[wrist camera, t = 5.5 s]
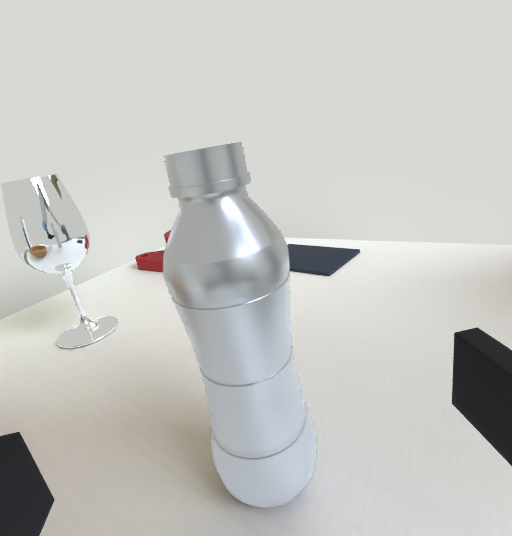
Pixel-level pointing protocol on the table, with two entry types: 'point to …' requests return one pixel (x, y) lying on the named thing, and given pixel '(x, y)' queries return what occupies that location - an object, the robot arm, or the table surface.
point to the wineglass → (53, 243)
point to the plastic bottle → (239, 326)
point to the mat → (318, 258)
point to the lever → (152, 259)
